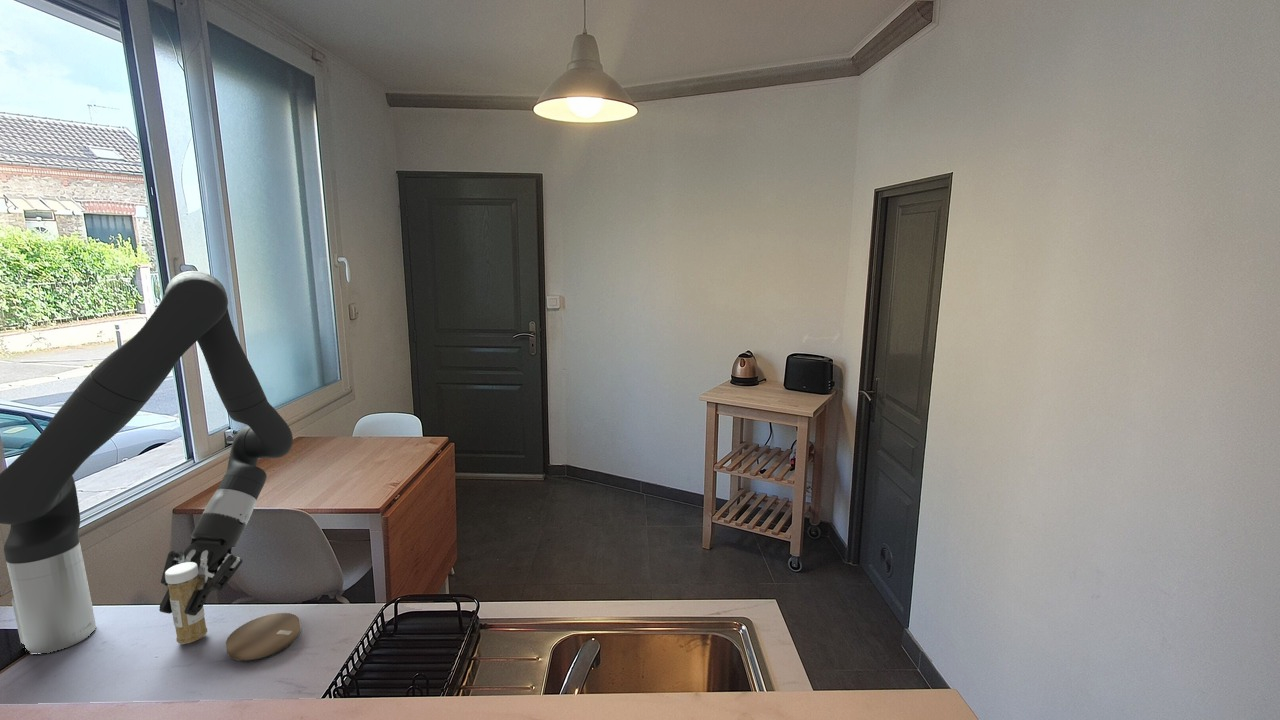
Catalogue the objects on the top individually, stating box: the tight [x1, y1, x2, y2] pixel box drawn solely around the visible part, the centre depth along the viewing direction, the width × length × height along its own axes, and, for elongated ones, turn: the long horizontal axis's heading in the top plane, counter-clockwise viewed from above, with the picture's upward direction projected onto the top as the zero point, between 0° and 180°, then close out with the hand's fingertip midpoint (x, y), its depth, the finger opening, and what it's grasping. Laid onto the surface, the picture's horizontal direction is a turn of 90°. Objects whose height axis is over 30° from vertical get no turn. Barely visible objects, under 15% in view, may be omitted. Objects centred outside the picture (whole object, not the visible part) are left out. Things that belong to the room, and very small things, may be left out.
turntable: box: [225, 612, 302, 661], centre depth 103 cm, size 11×11×2 cm
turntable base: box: [238, 641, 294, 663], centre depth 103 cm, size 9×9×1 cm
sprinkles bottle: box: [165, 562, 208, 645], centre depth 104 cm, size 5×5×14 cm
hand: (177, 613), depth 102 cm, fingers closed on sprinkles bottle, 4 cm apart
